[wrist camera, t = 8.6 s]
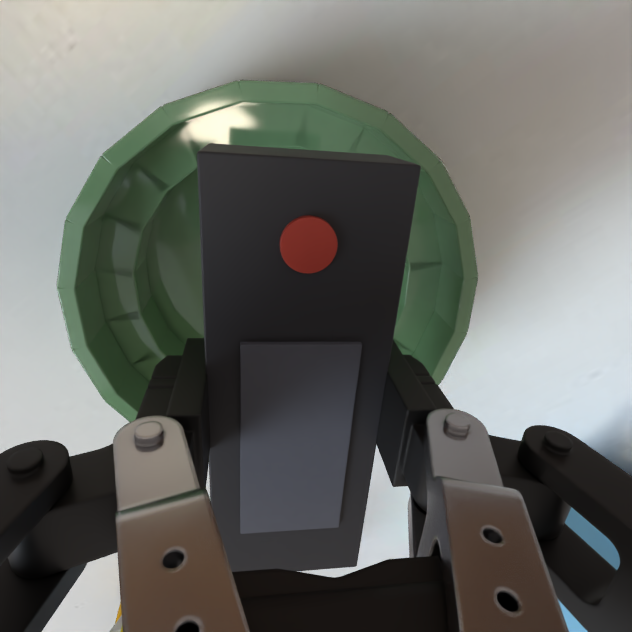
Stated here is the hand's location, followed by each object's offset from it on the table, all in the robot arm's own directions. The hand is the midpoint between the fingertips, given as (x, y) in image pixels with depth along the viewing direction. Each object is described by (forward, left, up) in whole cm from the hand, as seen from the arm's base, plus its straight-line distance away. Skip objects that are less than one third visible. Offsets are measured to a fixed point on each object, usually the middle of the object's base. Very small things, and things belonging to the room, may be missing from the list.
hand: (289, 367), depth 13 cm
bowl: (0, 0, -9) cm, 9 cm away
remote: (0, 0, 0) cm, 0 cm away
